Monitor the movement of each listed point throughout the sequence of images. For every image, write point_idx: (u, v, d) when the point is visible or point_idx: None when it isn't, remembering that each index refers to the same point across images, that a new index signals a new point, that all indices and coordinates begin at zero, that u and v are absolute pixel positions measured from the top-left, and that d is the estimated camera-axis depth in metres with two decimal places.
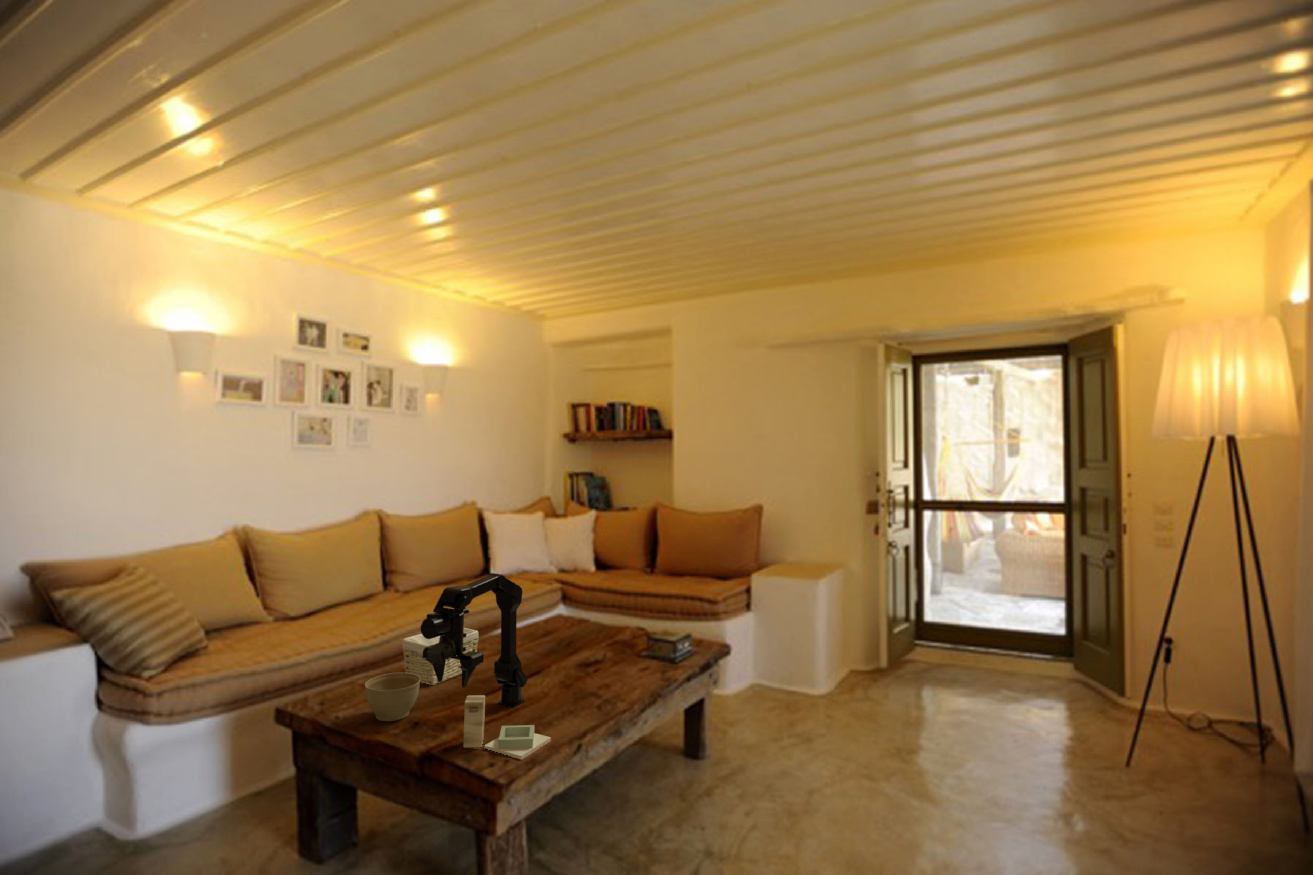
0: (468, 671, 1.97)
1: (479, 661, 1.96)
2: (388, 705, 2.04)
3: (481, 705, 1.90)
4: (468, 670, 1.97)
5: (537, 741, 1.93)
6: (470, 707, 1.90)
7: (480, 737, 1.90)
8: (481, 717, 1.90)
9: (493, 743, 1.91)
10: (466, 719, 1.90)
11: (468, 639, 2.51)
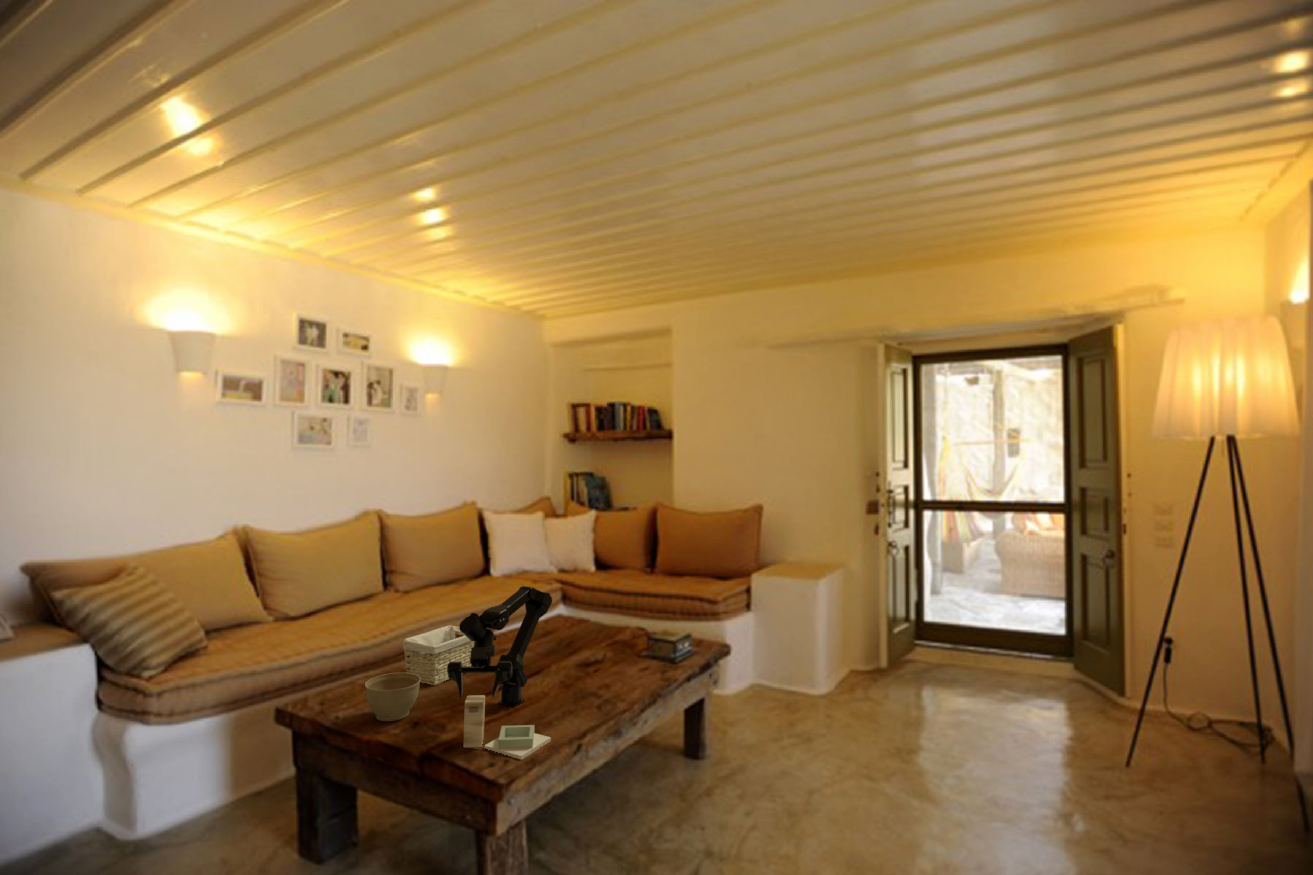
0: (498, 682, 2.02)
1: (511, 672, 2.05)
2: (388, 705, 2.04)
3: (481, 705, 1.90)
4: (498, 681, 2.02)
5: (537, 741, 1.93)
6: (470, 707, 1.90)
7: (480, 737, 1.90)
8: (481, 717, 1.90)
9: (493, 743, 1.91)
10: (466, 719, 1.90)
11: (469, 639, 2.51)
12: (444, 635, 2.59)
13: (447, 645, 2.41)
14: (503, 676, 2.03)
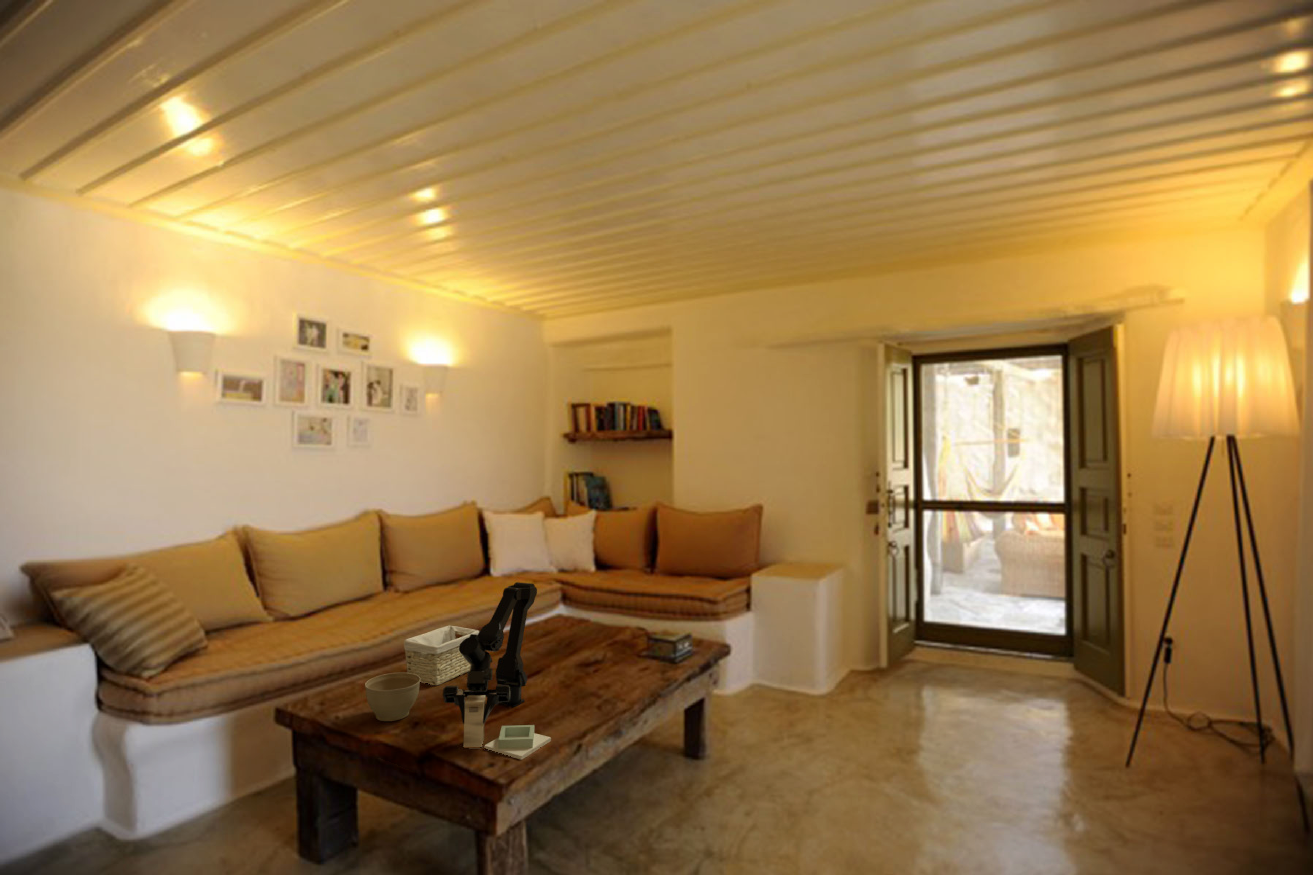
0: (489, 707, 1.95)
1: (509, 696, 1.98)
2: (388, 705, 2.04)
3: (481, 705, 1.90)
4: (489, 706, 1.95)
5: (537, 741, 1.93)
6: (470, 707, 1.90)
7: (480, 737, 1.90)
8: (481, 717, 1.90)
9: (493, 743, 1.91)
10: (466, 718, 1.90)
11: None
12: (444, 635, 2.59)
13: (448, 645, 2.41)
14: (494, 700, 1.97)
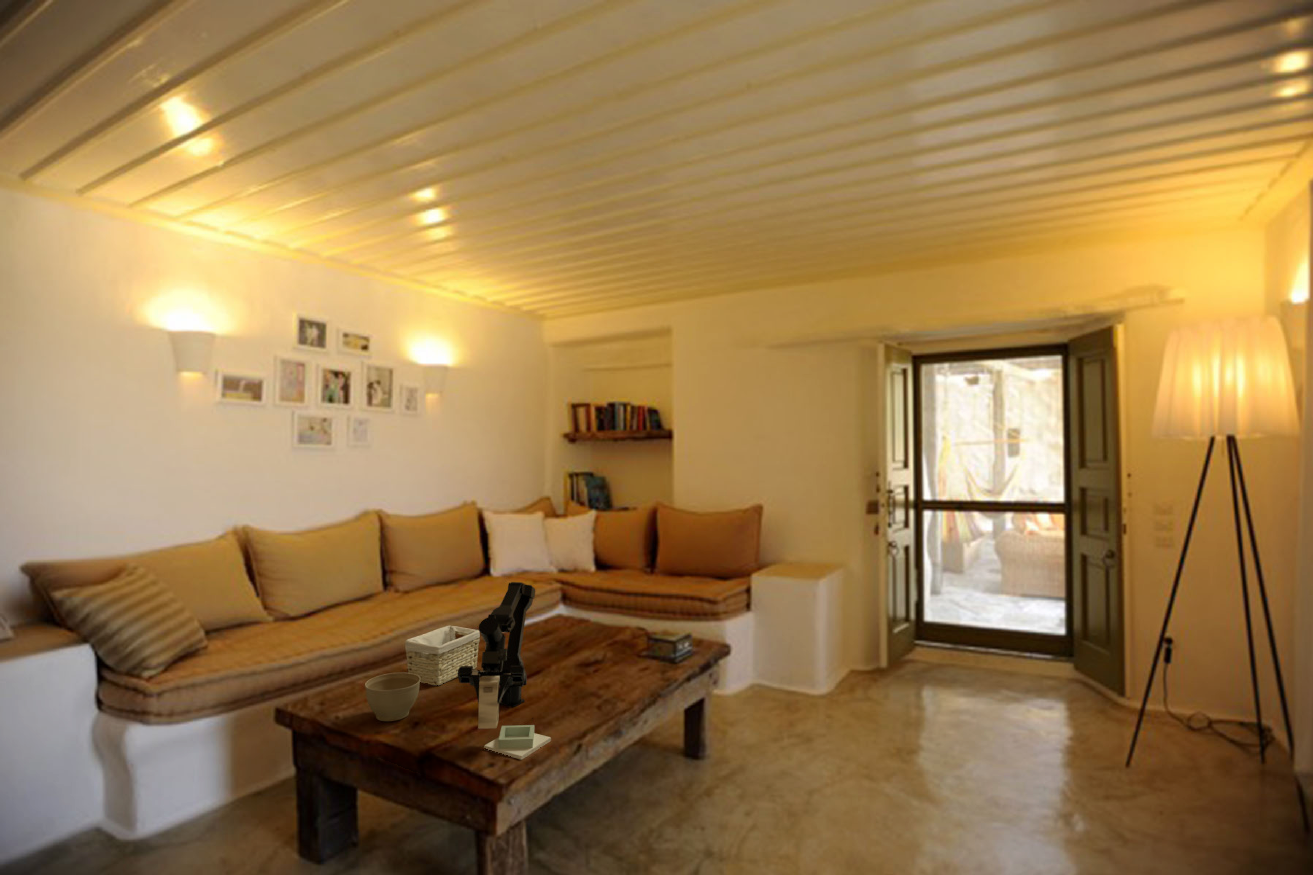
0: (504, 687, 1.95)
1: (524, 676, 1.99)
2: (388, 705, 2.04)
3: (495, 685, 1.91)
4: None
5: (537, 741, 1.93)
6: (485, 687, 1.90)
7: (495, 717, 1.91)
8: (496, 697, 1.91)
9: (493, 743, 1.91)
10: (480, 699, 1.90)
11: (470, 639, 2.51)
12: (444, 635, 2.59)
13: (450, 645, 2.41)
14: (509, 681, 1.97)
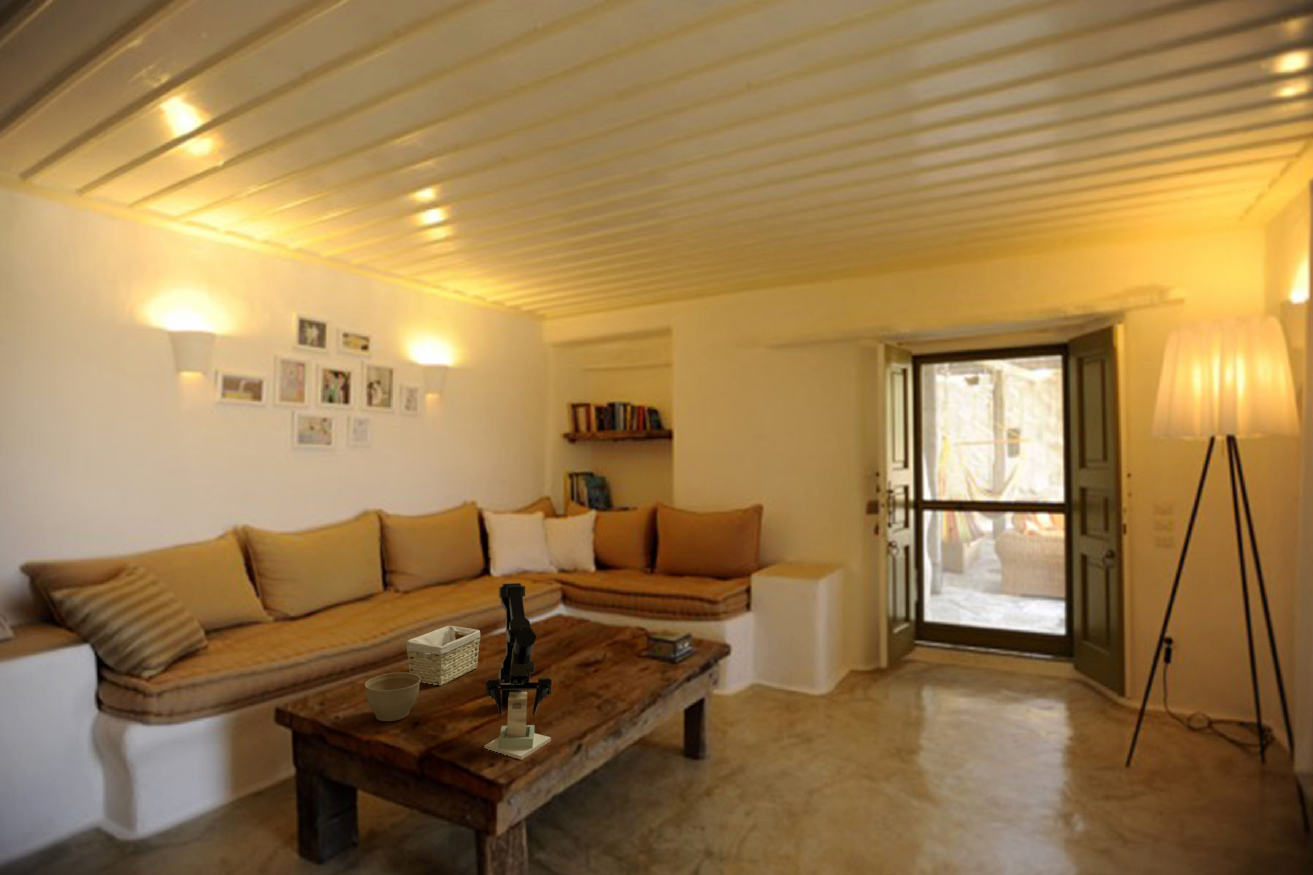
0: (538, 699, 1.96)
1: (551, 689, 1.99)
2: (388, 705, 2.04)
3: (524, 701, 1.91)
4: None
5: (537, 741, 1.93)
6: (513, 703, 1.90)
7: (523, 733, 1.91)
8: (524, 713, 1.91)
9: (493, 743, 1.91)
10: (509, 715, 1.90)
11: (471, 639, 2.52)
12: (444, 635, 2.59)
13: (452, 645, 2.41)
14: (543, 693, 1.98)
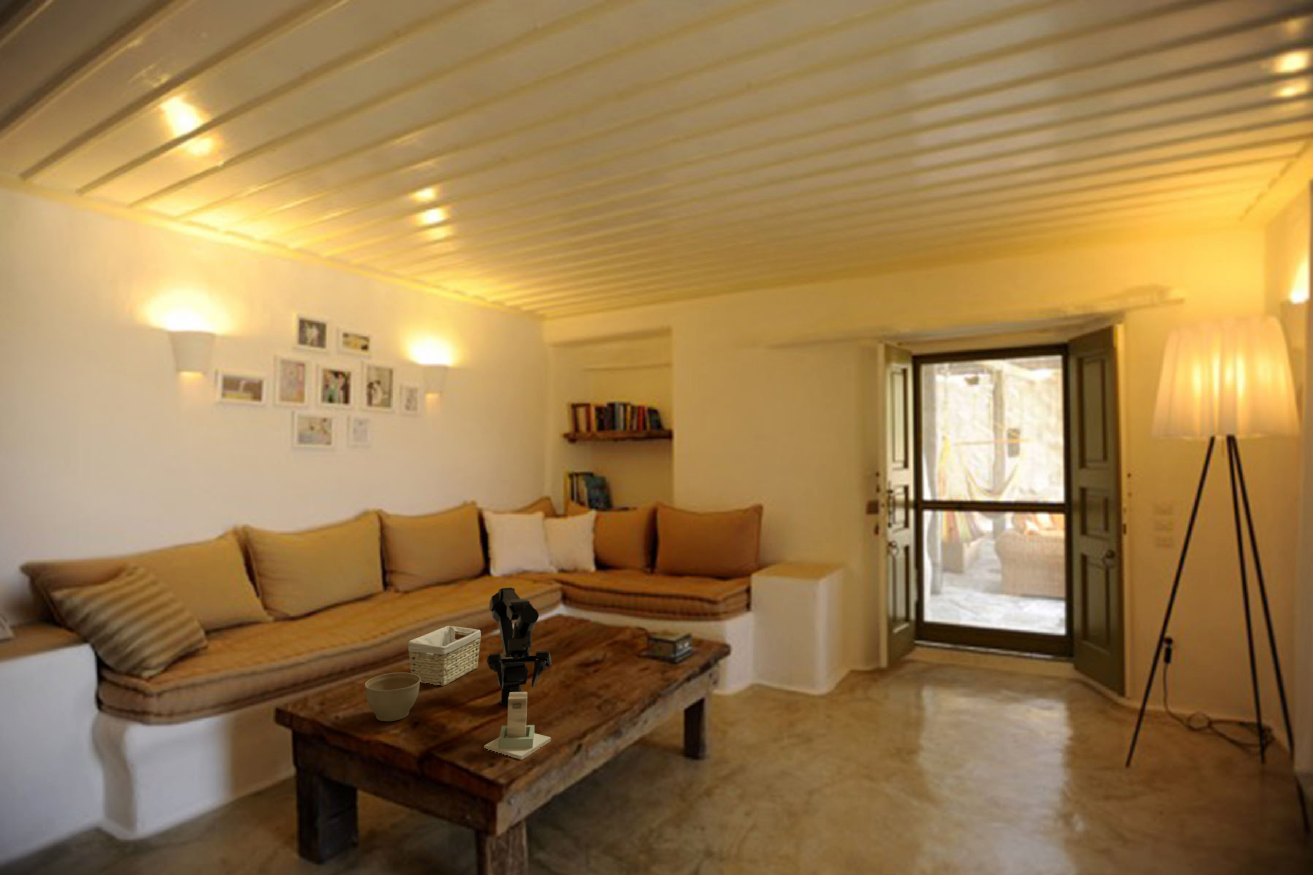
0: (537, 672, 2.05)
1: (550, 661, 2.07)
2: (388, 705, 2.04)
3: (524, 701, 1.91)
4: (537, 671, 2.05)
5: (537, 741, 1.93)
6: (513, 703, 1.90)
7: (523, 733, 1.91)
8: (524, 713, 1.91)
9: (493, 743, 1.91)
10: (509, 715, 1.90)
11: (473, 638, 2.52)
12: (444, 636, 2.58)
13: (454, 645, 2.41)
14: (542, 666, 2.06)
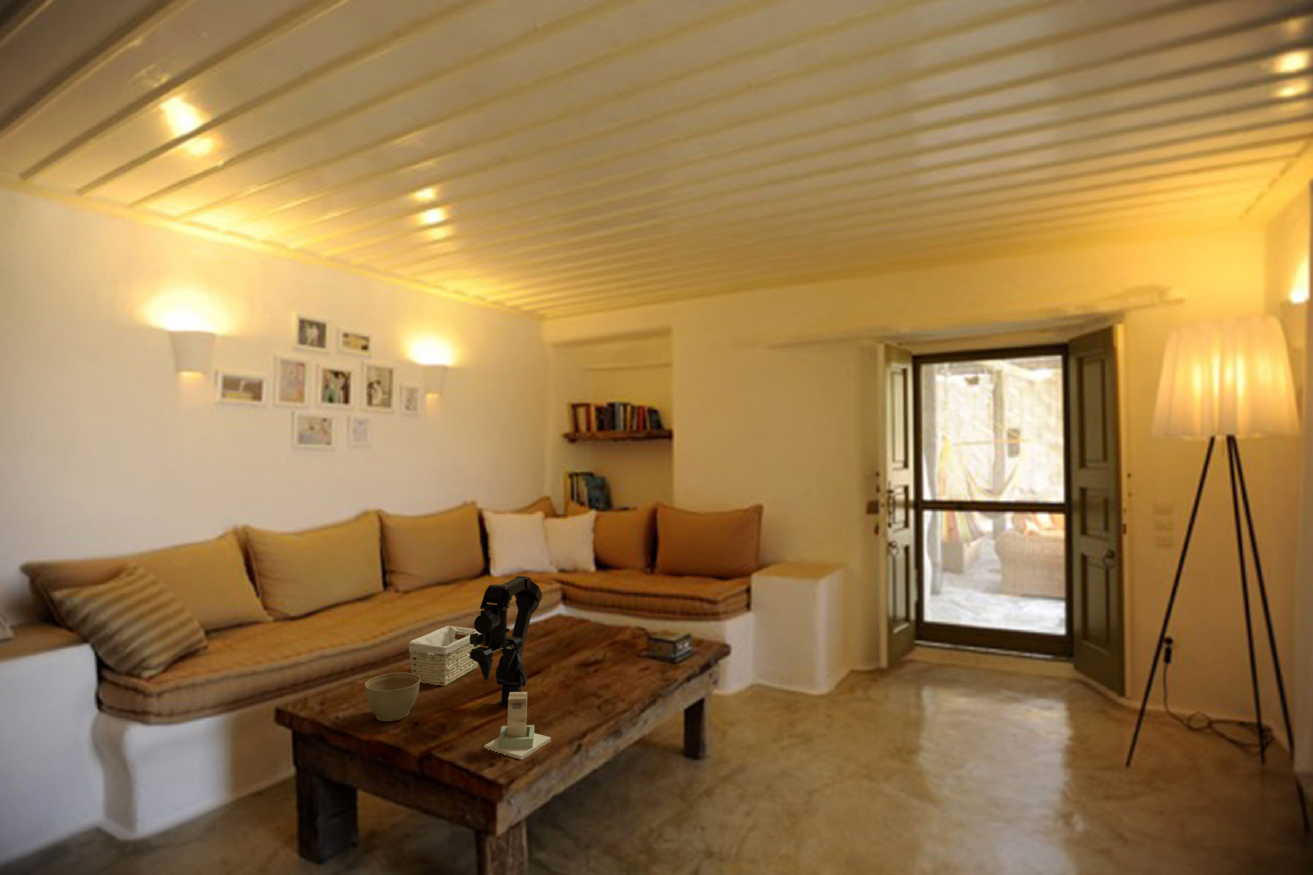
0: (484, 666, 2.07)
1: (478, 658, 2.03)
2: (388, 705, 2.04)
3: (524, 701, 1.91)
4: (484, 665, 2.07)
5: (537, 741, 1.93)
6: (513, 703, 1.90)
7: (523, 733, 1.91)
8: (524, 713, 1.91)
9: (493, 743, 1.91)
10: (509, 715, 1.90)
11: None
12: (444, 636, 2.58)
13: (455, 645, 2.41)
14: None
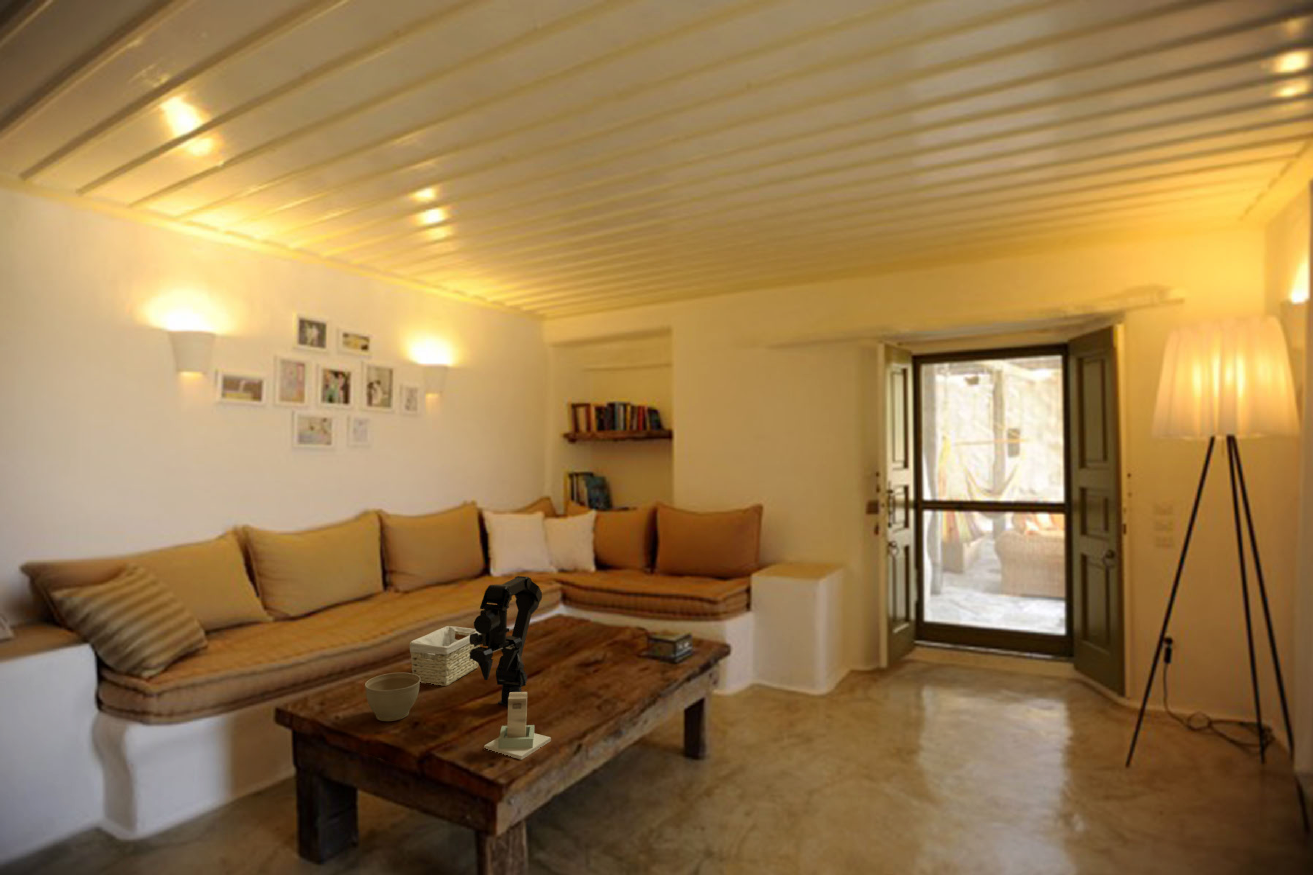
0: (484, 666, 2.07)
1: (478, 658, 2.03)
2: (388, 705, 2.04)
3: (524, 701, 1.91)
4: (484, 665, 2.07)
5: (537, 741, 1.93)
6: (513, 703, 1.90)
7: (523, 733, 1.91)
8: (524, 713, 1.91)
9: (493, 743, 1.91)
10: (509, 715, 1.90)
11: None
12: (444, 636, 2.58)
13: (456, 645, 2.42)
14: None
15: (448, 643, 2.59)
